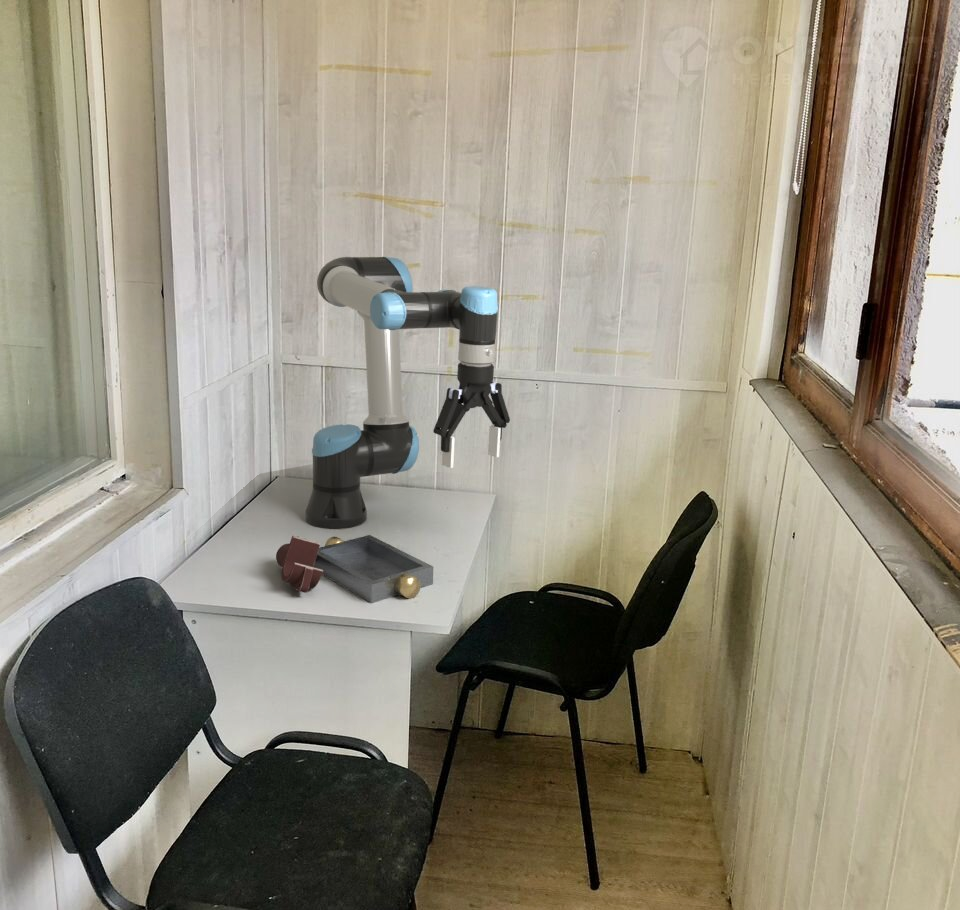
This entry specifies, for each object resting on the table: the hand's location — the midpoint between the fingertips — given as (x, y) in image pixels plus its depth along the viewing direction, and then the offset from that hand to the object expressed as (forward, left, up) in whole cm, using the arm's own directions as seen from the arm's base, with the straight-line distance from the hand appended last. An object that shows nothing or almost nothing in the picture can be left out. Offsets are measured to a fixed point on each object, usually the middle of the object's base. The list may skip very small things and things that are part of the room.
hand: (471, 461), depth 197 cm
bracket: (-16, -32, -26) cm, 44 cm away
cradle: (-10, -19, -25) cm, 33 cm away
